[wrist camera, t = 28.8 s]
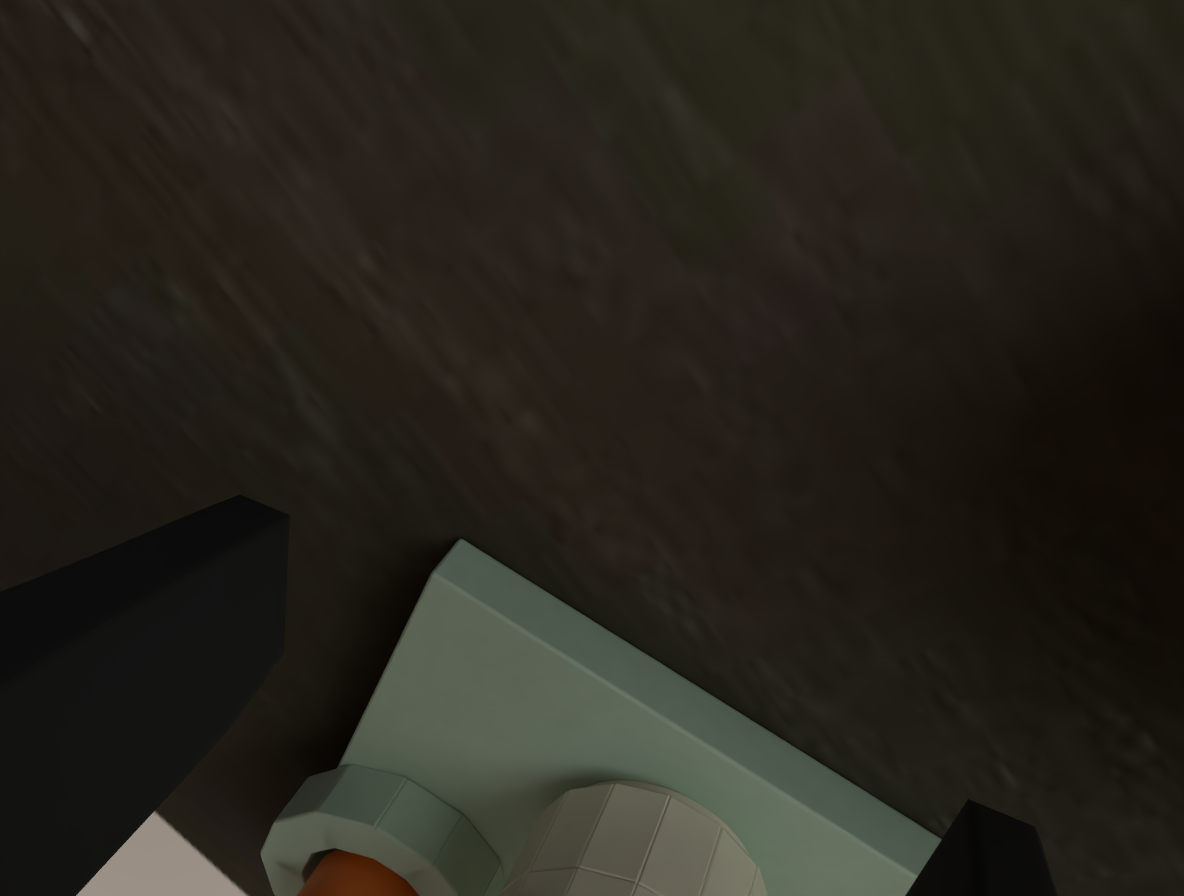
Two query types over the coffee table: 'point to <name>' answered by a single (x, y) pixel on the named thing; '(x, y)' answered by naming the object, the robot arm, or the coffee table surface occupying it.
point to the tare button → (354, 878)
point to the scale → (563, 755)
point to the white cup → (632, 847)
